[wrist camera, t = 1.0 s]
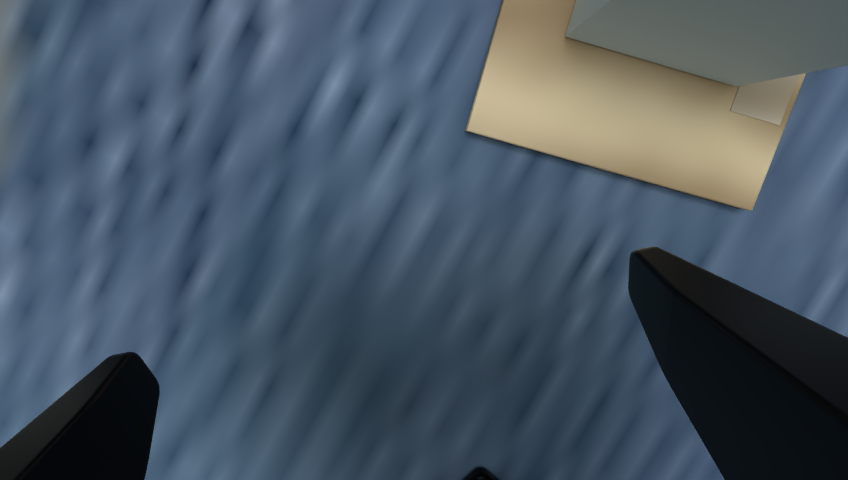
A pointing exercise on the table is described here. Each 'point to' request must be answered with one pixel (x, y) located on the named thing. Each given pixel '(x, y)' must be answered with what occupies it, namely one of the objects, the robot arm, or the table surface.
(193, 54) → the table surface
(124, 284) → the table surface
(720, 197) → the gauge track
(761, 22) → the grey block
